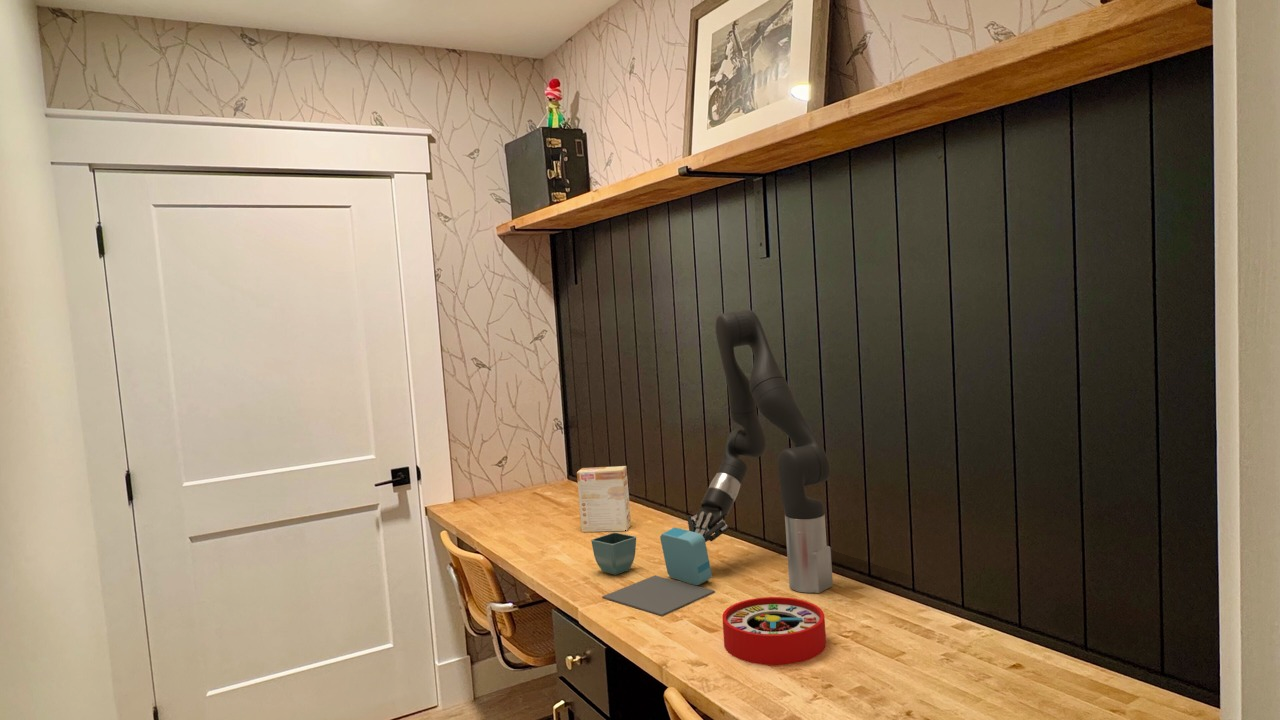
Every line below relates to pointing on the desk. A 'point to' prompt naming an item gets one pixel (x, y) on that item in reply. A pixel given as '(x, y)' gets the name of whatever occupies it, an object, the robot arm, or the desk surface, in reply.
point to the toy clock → (774, 630)
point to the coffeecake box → (604, 499)
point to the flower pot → (614, 552)
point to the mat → (658, 595)
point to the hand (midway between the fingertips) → (693, 552)
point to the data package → (686, 556)
